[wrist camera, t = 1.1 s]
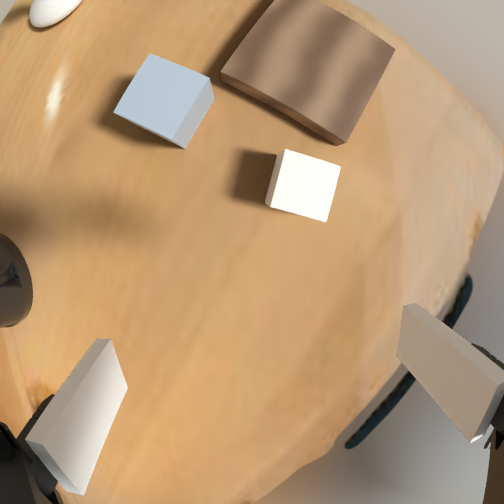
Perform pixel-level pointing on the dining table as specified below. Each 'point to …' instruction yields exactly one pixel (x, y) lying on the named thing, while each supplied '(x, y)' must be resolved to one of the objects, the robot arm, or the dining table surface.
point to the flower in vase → (50, 11)
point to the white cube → (302, 185)
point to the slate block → (167, 100)
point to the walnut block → (310, 66)
